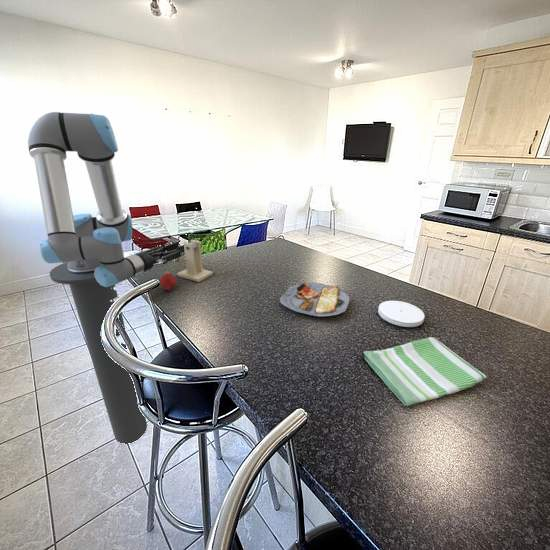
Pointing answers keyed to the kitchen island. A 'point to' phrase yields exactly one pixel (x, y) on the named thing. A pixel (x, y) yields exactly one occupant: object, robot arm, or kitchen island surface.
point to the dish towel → (422, 370)
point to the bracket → (194, 263)
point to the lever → (184, 254)
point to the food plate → (315, 299)
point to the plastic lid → (401, 313)
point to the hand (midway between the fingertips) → (182, 246)
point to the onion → (168, 281)
